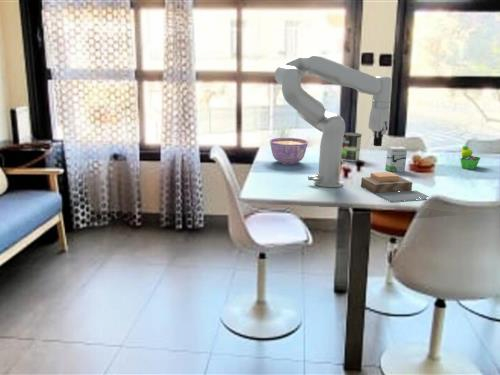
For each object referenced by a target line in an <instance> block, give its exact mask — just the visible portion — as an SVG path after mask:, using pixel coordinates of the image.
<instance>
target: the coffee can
mask: <svg viewBox="0 0 500 375" xmlns="http://www.w3.org/2000/svg"><path fill="white" fill-rule="evenodd" d="M361 142H362V133H358V132H346V131H345V132H344V136H343V142H342V154H341V161H346V162H357V161H356V160H359V161H360V155H361V154H360V153H361V152H360V151H361Z"/></svg>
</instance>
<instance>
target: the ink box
mask: <svg viewBox="0 0 500 375" xmlns="http://www.w3.org/2000/svg"><path fill="white" fill-rule="evenodd" d="M386 153H387V154H386V161H385V162H386V163H385V169H384V170H385V171H387V170H388V171H387V172H390V171H394V172H406V171H405V170H406V164H407V155H408V148H406V147H404V146H388V147H387V152H386Z"/></svg>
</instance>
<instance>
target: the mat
mask: <svg viewBox="0 0 500 375" xmlns="http://www.w3.org/2000/svg"><path fill="white" fill-rule="evenodd" d="M375 195H376V196H378V197H380V198H381V197H382V198H381V199H383V198H384V201H385V200H386V201H387V200H388V202H389V201H390V202H389V203H393V202H392V201H401V202H405V201H404V200H416V199H420V198H421V199H426V198H427V197H430V196H429V195H427V194H425V193H422V192H420V191H418V190H412V191H400V192H385V193H375ZM419 197H420V198H419ZM416 201H417V200H416Z"/></svg>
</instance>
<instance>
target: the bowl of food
mask: <svg viewBox="0 0 500 375" xmlns="http://www.w3.org/2000/svg"><path fill="white" fill-rule="evenodd" d="M269 144H270V149H271V154H272V157H273V159H274V160H276V161H277V162H279V163H280V164H282V165H296V163H299V162H301V161H302V160H303V159H304V158H305V154H306V152H307V148H308V146H309V145H308V144H309V141H308V140H306V139H303V138H295V137H276V138H275V137H274V138H272V139H269Z"/></svg>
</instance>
